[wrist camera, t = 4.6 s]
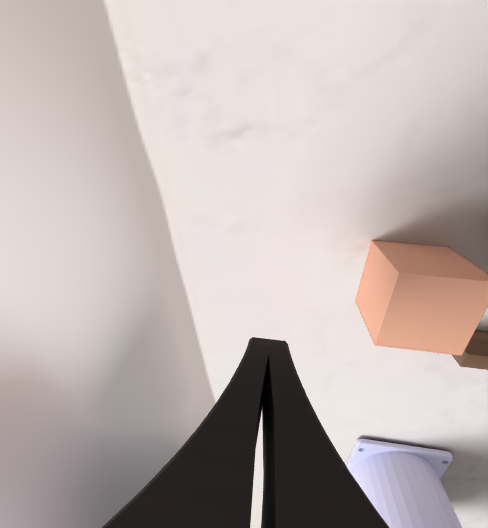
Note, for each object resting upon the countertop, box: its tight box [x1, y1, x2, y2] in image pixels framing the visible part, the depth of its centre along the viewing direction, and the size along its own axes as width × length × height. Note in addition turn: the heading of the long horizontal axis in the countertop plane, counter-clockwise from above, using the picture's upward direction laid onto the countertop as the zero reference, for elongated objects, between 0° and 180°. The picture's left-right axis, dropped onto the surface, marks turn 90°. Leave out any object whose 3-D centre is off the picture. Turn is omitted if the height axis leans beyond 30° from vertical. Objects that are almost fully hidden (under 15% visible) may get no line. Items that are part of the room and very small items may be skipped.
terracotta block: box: [355, 240, 488, 356], centre depth 15 cm, size 4×4×4 cm
